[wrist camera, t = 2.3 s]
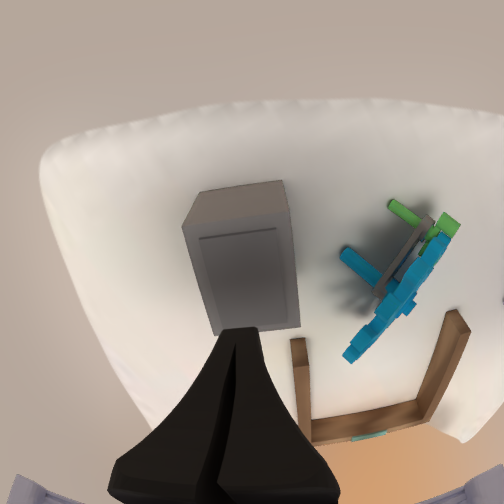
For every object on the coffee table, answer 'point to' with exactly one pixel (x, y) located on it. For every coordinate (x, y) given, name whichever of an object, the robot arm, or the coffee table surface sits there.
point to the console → (244, 257)
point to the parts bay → (387, 417)
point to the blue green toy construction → (385, 285)
